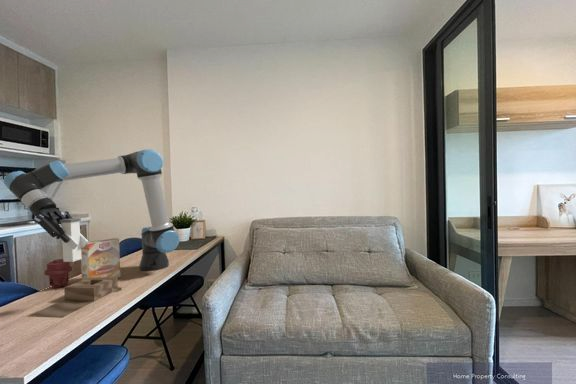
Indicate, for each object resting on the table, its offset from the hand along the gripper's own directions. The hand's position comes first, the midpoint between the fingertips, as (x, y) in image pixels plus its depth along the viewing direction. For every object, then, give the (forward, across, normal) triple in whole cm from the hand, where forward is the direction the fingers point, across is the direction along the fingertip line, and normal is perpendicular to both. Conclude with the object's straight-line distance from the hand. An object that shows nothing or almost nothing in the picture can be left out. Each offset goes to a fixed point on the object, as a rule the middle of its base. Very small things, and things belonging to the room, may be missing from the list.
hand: (80, 245), depth 112 cm
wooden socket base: (+14, -2, -19) cm, 23 cm away
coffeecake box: (+5, -29, -28) cm, 41 cm away
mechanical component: (-4, -19, -37) cm, 42 cm away
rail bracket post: (+1, 0, -7) cm, 7 cm away
